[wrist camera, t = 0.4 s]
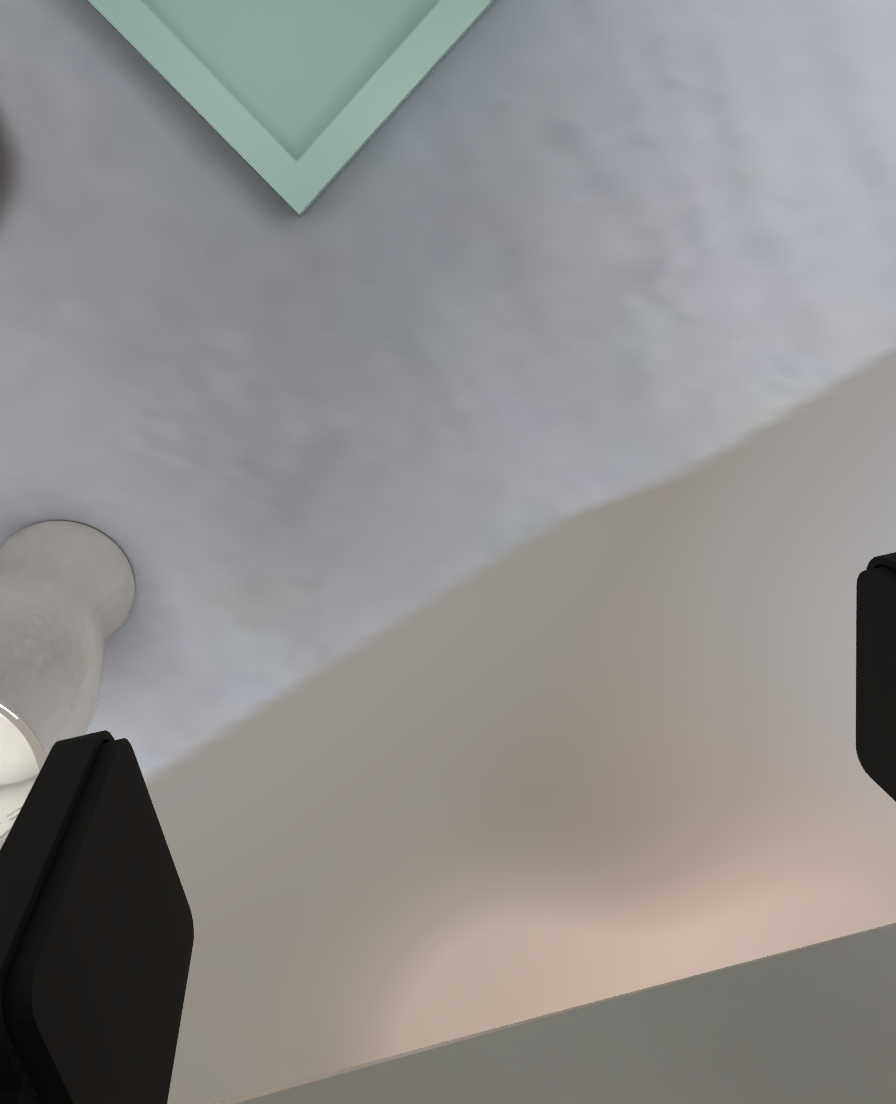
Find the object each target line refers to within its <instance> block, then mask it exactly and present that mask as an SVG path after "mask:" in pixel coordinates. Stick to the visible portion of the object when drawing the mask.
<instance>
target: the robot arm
mask: <svg viewBox="0 0 896 1104" xmlns="http://www.w3.org/2000/svg"><path fill="white" fill-rule="evenodd" d="M856 627H857V628H856V630H857V631H856V632H857V633H856V640H857V641H856V751H857V754H858V758H859V761H860V763H861V765H862V767H863V769H864V770H865V772H866V773H867V774H868V775H869V776H870V777H871V778H872V779H873V780H874V781H875V782H876V783H877V784H878V785H879V786H880V787H881V788H882V789H883V790H884V791H885V792H886V793H887V794H889V796H891V797H892V798H893V799H894V800H895V801H896V552H895V553H891V554H886V555H882V556H878V557H874V558H873V559H872V560H871V561H870V562H869V564H868V566H867V570H865V571H862V572H861V573H860V574H859V577H858V579H857V620H856ZM193 939H194V928H193V919H192V914H191V910H190V907H189V904H188V901H187V899H186V896H185V893H184V890H183V887H182V885H181V882H180V879H179V876H178V874H177V871H176V868H175V865H174V862H173V860H172V857H171V854H170V851H169V848H168V846H167V843H166V840H165V837H164V835H163V832H162V829H161V826H160V823H159V821H158V818H157V815H156V812H155V810H154V807H153V804H152V801H151V798H150V795H149V793H148V790H147V787H146V784H145V782H144V779H143V776H142V773H141V770H140V768H139V765H138V762H137V759H136V757H135V754H134V751H133V748H132V746H131V744H130V743H129V741H128V740H127V739H125V738H123V739H119V740H114V738H113V737H112V735H111V734H110V733H109V732H108V731H106V730H105V731H100V732H96V733H91V734H87V735H82V736H78V737H73V738H69V739H65V740H60V741H56V743H55V744H54V745H53V746H52V748H51V750H50V752H49V754H48V756H47V758H46V760H45V762H44V764H43V766H42V768H41V770H40V772H39V774H38V776H37V778H36V780H35V782H34V784H33V786H32V788H31V790H30V792H29V794H28V796H27V798H26V800H25V802H24V804H23V806H22V808H21V810H20V812H19V814H18V816H17V818H16V820H15V822H14V824H13V826H12V828H11V830H10V832H9V834H8V836H7V838H6V840H5V842H4V844H3V846H2V848H1V850H0V1104H167V1100H168V1094H169V1088H170V1082H171V1076H172V1069H173V1064H174V1057H175V1051H176V1045H177V1039H178V1033H179V1027H180V1021H181V1014H182V1009H183V1002H184V996H185V990H186V983H187V978H188V972H189V966H190V960H191V953H192V947H193ZM217 1104H896V923H894V924H890V925H886V926H882V927H878V928H875V929H871V930H867V931H863V932H859V933H855V934H851V935H848V936H844V937H840V938H836V939H832V940H829V941H825V942H821V943H817V944H813V945H809V946H805V947H802V948H798V949H794V950H790V951H786V952H783V953H779V954H775V955H771V956H767V957H763V958H760V959H756V960H752V961H748V962H744V963H741V964H737V965H733V966H729V967H726V968H722V969H718V970H714V971H710V972H706V973H702V974H699V975H695V976H691V977H688V978H684V979H680V980H676V981H672V982H668V983H665V984H661V985H657V986H653V987H649V988H646V989H642V990H639V991H634V992H630V993H627V994H623V995H619V996H615V997H612V998H608V999H604V1000H601V1001H596V1002H593V1003H589V1004H585V1005H581V1006H577V1007H574V1008H570V1009H566V1010H563V1011H559V1012H555V1013H551V1014H547V1015H544V1016H540V1017H536V1018H532V1019H529V1020H525V1021H522V1022H518V1023H514V1024H510V1025H506V1026H502V1027H499V1028H495V1029H491V1030H488V1031H484V1032H480V1033H476V1034H472V1035H469V1036H465V1037H462V1038H458V1039H454V1040H450V1041H447V1042H443V1043H439V1044H436V1045H432V1046H428V1047H425V1048H420V1049H417V1050H413V1051H409V1052H406V1053H402V1054H399V1055H395V1056H391V1057H387V1058H383V1059H380V1060H376V1061H372V1062H369V1063H365V1064H361V1065H358V1066H354V1067H350V1068H346V1069H342V1070H339V1071H335V1072H331V1073H328V1074H324V1075H320V1076H316V1077H313V1078H309V1079H305V1080H302V1081H298V1082H294V1083H290V1084H287V1085H283V1086H279V1087H275V1088H272V1089H268V1090H265V1091H261V1092H257V1093H253V1094H250V1095H246V1096H242V1097H239V1098H235V1099H231V1100H227V1101H223V1102H220V1103H217Z"/></svg>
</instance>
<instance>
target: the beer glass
mask: <svg viewBox="0 0 896 1104" xmlns="http://www.w3.org/2000/svg"><path fill="white" fill-rule="evenodd" d="M134 596H135V580H134V574H133V571H132V568H131V565H130V563H129V561H128V559H127V557H126V556H125V554H124V553H123V551H122V550H121V549H120V548H119V547H118V546H117V544H116V543H114V542H113V541H112V540H111V539H110V538H109V537H107V536H106V535H104V534H103V533H101V532H100V531H98V530H96V529H94V528H92V527H89V526H87V525H84V524H80V523H77V522H71V521H61V520H56V521H45V522H40V523H37V524H33V525H31V526H28V527H26V528H24V529H22V530H20V531H18V532H17V533H15V534H14V535H13V536H12V537H10V538H9V539H8V540H7V541H6V542H5V543H4V545H3V546H2V547H1V549H0V850H1V848H2V846H3V844H4V842H5V840H6V838H7V836H8V834H9V832H10V830H11V828H12V826H13V824H14V822H15V820H16V818H17V816H18V814H19V812H20V810H21V808H22V806H23V804H24V802H25V800H26V798H27V796H28V794H29V792H30V790H31V788H32V786H33V784H34V782H35V780H36V778H37V776H38V774H39V772H40V770H41V768H42V766H43V764H44V762H45V760H46V758H47V756H48V754H49V752H50V750H51V748H52V746H53V745H54V744H55V743H56V741H60V740H65V739H69V738H73V737H78V736H82V735H86V734H87V731H88V729H89V726H90V723H91V721H92V718H93V715H94V713H95V709H96V705H97V700H98V695H99V690H100V685H101V678H102V668H103V658H104V645H105V640H106V639H108V638H109V637H110V636H111V635H112V634H113V633H114V632H115V631H116V630H117V629H118V628H119V627H120V626H121V625H122V624H123V622H124V621H125V619H126V618H127V616H128V614H129V613H130V610H131V608H132V605H133V601H134Z"/></svg>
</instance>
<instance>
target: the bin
mask: <svg viewBox="0 0 896 1104" xmlns="http://www.w3.org/2000/svg"><path fill="white" fill-rule="evenodd" d="M87 1H88V2H89V3H90V4H91V5H92V6H93V7H94V8H95V9H96V10H97V11H98V12H99V13H100V14H101V15H102V16H103V17H104V18H105V19H106V20H107V21H108V22H109V23H110V24H111V25H112V26H113V27H114V28H115V29H116V30H117V31H118V32H119V33H120V34H121V35H122V36H123V37H124V38H125V39H126V40H127V41H128V42H129V43H130V44H131V45H132V46H133V47H134V48H135V49H136V50H137V51H138V52H139V53H140V54H141V55H142V56H143V57H144V58H145V59H146V60H147V62H148V63H149V64H150V65H151V66H152V67H153V68H154V69H155V70H156V71H157V72H158V73H159V74H160V75H161V76H162V77H163V78H164V79H165V80H166V81H167V82H168V83H169V84H170V85H171V86H172V87H173V88H174V89H175V90H176V91H177V92H178V93H179V94H180V95H181V96H182V97H183V98H184V99H185V100H186V101H187V102H188V103H189V104H190V105H191V106H192V107H193V108H194V109H195V110H196V111H197V112H198V113H199V114H200V115H201V116H202V117H203V118H204V119H205V120H206V121H207V122H208V123H209V124H210V125H211V126H212V127H213V128H214V129H215V130H216V131H217V133H218V134H219V135H220V136H221V137H222V138H223V139H224V140H225V141H226V142H227V143H228V144H229V145H230V146H231V147H232V148H233V149H234V150H235V151H236V152H237V153H238V154H239V155H240V156H241V157H242V158H243V159H244V160H245V161H246V162H247V163H248V164H249V165H250V166H251V167H252V168H253V169H254V170H255V171H256V172H257V173H258V174H259V175H260V176H261V177H262V178H263V179H264V180H265V181H266V182H267V183H268V184H269V185H270V186H271V187H272V188H273V189H274V190H275V191H276V192H277V193H278V194H279V195H280V196H281V197H282V198H283V199H284V200H285V201H286V202H287V204H288V205H289V206H290V207H291V208H292V209H293V210H294V211H295V212H296V213H297V214H298V215H299V216H300V217H301V216H302V214H303V213H304V212H305V211H306V210H307V209H308V208H309V207H310V206H311V204H312V203H313V202H314V201H315V200H316V199H317V198H318V197H319V196H320V194H321V193H322V192H323V191H324V190H325V189H326V188H327V187H328V186H329V184H330V183H331V182H332V181H333V180H334V179H335V178H336V177H337V176H338V174H339V173H340V172H341V171H342V170H343V169H344V168H345V167H346V166H347V165H348V163H349V162H350V161H351V160H352V159H353V158H354V157H355V156H356V155H357V153H358V152H359V151H360V150H361V149H362V148H363V147H364V146H365V145H366V143H367V142H368V141H369V140H370V139H371V138H372V137H373V136H374V135H375V133H376V132H377V131H378V130H379V129H380V128H381V127H382V126H383V125H384V123H385V122H386V121H387V120H388V119H389V118H390V117H391V116H392V115H393V113H394V112H395V111H396V110H397V109H398V108H399V107H400V106H401V105H402V103H403V102H404V101H405V100H406V99H407V98H408V97H409V96H410V95H411V94H412V92H413V91H414V90H415V89H416V88H417V87H418V86H419V85H420V84H421V82H422V81H423V80H424V79H425V78H426V77H427V76H428V75H429V74H430V72H431V71H432V70H433V69H434V68H435V67H436V66H437V65H438V64H439V62H440V61H441V60H442V59H443V58H444V57H445V56H446V55H447V54H448V52H449V51H450V50H451V49H452V48H453V47H454V46H455V45H456V44H457V42H458V41H459V40H460V39H461V38H462V37H463V36H464V35H465V34H466V33H467V31H468V30H469V29H470V28H471V27H472V26H473V25H474V24H475V23H476V21H477V20H478V19H479V18H480V17H481V16H482V15H483V14H484V13H485V11H486V10H487V9H488V8H489V7H490V6H491V5H492V4H493V3H494V1H495V0H87Z"/></svg>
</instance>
